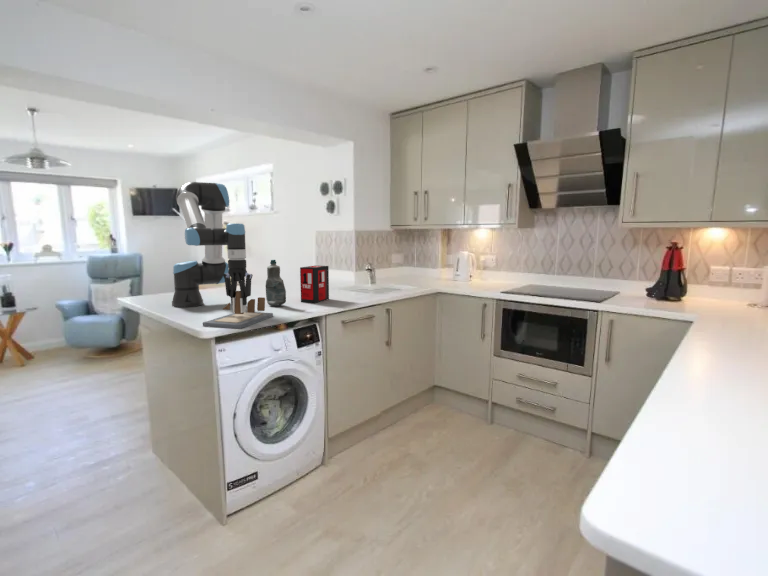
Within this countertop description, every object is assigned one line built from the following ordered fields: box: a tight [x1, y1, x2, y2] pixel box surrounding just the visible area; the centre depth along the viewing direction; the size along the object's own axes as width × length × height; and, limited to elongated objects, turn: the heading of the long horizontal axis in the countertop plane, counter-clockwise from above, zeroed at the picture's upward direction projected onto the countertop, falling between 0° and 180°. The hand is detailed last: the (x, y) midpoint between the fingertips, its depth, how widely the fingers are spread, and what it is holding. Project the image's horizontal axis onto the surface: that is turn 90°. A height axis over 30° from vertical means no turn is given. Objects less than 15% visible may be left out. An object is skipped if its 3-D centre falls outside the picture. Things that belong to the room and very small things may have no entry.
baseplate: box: [202, 311, 274, 330], centre depth 177 cm, size 18×26×2 cm
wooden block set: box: [221, 290, 266, 314], centre depth 180 cm, size 18×9×10 cm, turn 112°
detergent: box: [265, 259, 287, 307], centre depth 214 cm, size 13×7×25 cm, turn 67°
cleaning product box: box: [299, 265, 330, 304], centre depth 232 cm, size 16×9×20 cm, turn 159°
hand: (239, 311), depth 177 cm, fingers closed on wooden block set, 3 cm apart
